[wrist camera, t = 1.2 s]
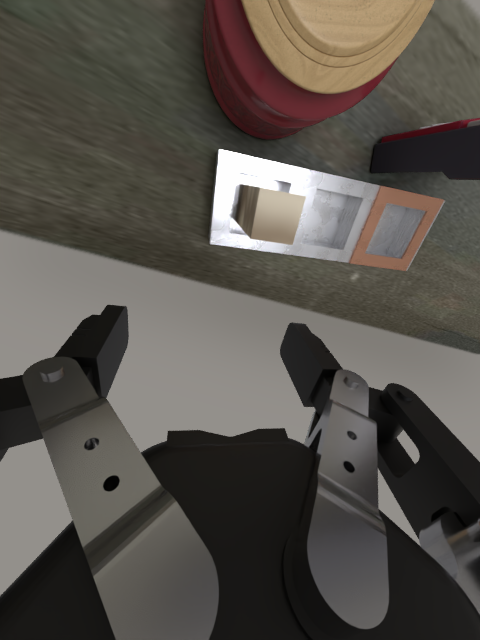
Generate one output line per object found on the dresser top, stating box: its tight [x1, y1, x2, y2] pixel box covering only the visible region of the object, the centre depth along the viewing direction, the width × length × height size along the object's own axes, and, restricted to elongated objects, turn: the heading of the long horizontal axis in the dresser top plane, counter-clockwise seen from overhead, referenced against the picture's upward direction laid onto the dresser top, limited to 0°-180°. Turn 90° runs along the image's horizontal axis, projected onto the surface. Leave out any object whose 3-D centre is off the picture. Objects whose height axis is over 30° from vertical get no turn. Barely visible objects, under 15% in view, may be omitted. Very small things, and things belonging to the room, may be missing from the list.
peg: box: [235, 184, 306, 245], centre depth 24 cm, size 4×4×10 cm
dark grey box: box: [371, 118, 480, 180], centre depth 23 cm, size 11×4×15 cm, turn 97°
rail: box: [208, 149, 445, 271], centre depth 29 cm, size 9×28×4 cm, turn 80°
